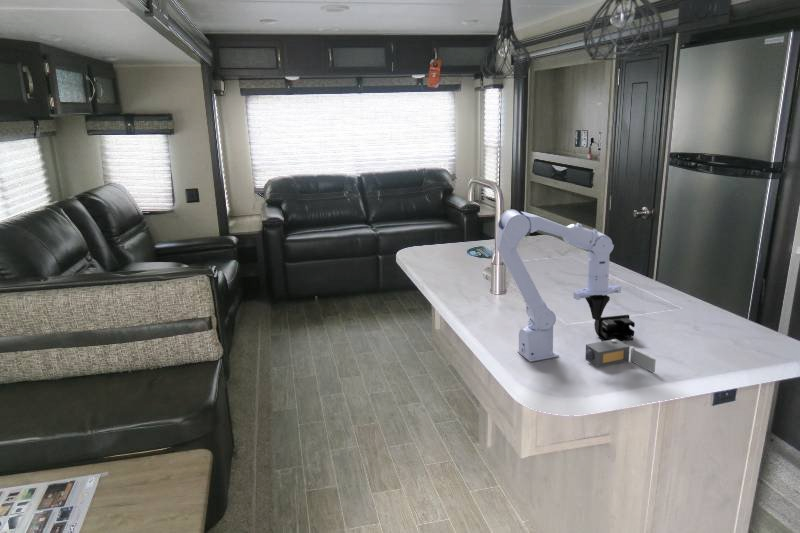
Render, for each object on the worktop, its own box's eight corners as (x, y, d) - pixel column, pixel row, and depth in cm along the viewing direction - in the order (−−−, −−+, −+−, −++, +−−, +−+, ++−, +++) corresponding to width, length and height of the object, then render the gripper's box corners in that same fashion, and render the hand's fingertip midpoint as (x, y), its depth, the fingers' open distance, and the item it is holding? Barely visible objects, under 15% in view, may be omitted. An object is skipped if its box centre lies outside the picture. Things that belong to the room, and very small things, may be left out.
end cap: (623, 331, 181) (624, 311, 179) (635, 340, 174) (636, 319, 172) (593, 334, 180) (594, 314, 178) (604, 343, 173) (605, 322, 171)
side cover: (655, 372, 152) (656, 358, 151) (652, 373, 152) (653, 358, 151) (632, 360, 160) (632, 346, 159) (629, 360, 160) (630, 347, 159)
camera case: (595, 367, 157) (596, 351, 156) (583, 359, 163) (583, 343, 162) (628, 361, 160) (629, 344, 159) (615, 353, 166) (616, 337, 164)
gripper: (584, 281, 157) (582, 327, 160) (628, 274, 160) (626, 319, 164) (569, 275, 163) (568, 319, 167) (613, 268, 167) (611, 312, 171)
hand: (596, 318), depth 166 cm, fingers closed
